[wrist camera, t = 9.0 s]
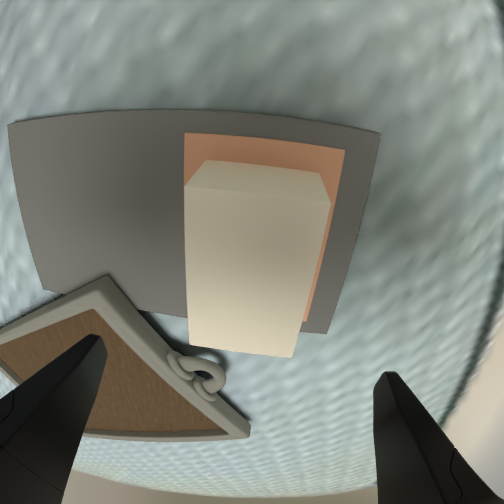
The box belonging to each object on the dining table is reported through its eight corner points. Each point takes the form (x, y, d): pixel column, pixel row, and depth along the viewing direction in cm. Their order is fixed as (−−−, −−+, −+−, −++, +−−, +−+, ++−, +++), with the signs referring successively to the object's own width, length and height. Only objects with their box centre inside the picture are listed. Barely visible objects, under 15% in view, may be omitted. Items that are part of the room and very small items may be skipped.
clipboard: (-24, 346, 24) (127, 275, 15) (-18, 337, 26) (138, 258, 16) (79, 436, 33) (277, 435, 24) (82, 427, 34) (278, 419, 25)
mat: (13, 122, 13) (6, 125, 13) (376, 132, 13) (381, 135, 12) (47, 284, 19) (42, 289, 19) (325, 327, 19) (326, 335, 18)
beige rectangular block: (203, 299, 18) (189, 344, 15) (206, 159, 13) (184, 186, 10) (291, 310, 17) (291, 357, 14) (319, 173, 13) (331, 203, 10)
